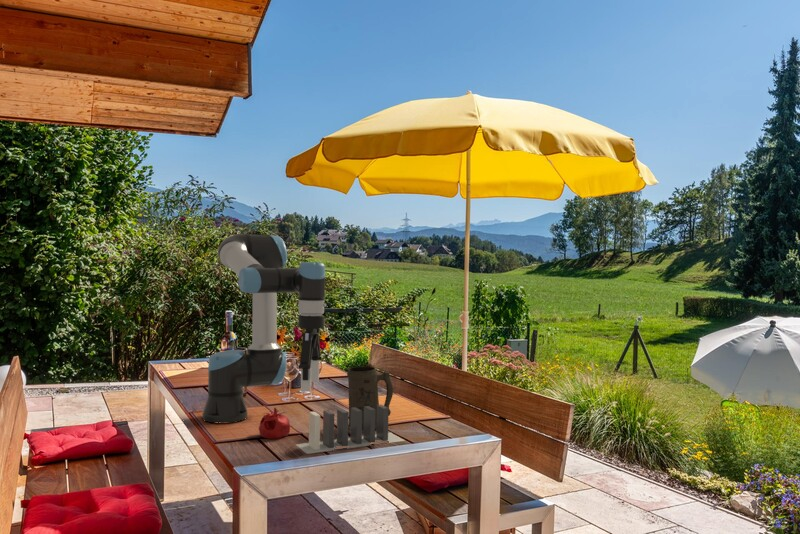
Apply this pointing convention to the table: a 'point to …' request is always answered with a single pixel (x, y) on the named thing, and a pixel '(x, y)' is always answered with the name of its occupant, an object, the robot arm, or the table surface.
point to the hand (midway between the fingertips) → (310, 386)
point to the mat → (323, 448)
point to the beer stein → (367, 390)
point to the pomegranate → (274, 425)
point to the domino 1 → (314, 430)
